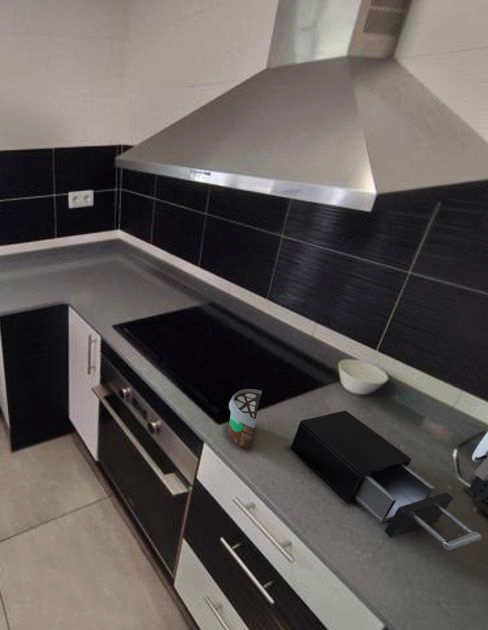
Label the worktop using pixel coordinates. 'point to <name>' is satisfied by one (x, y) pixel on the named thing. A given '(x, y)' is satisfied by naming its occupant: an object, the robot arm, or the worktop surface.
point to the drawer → (407, 504)
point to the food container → (243, 416)
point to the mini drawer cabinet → (343, 451)
